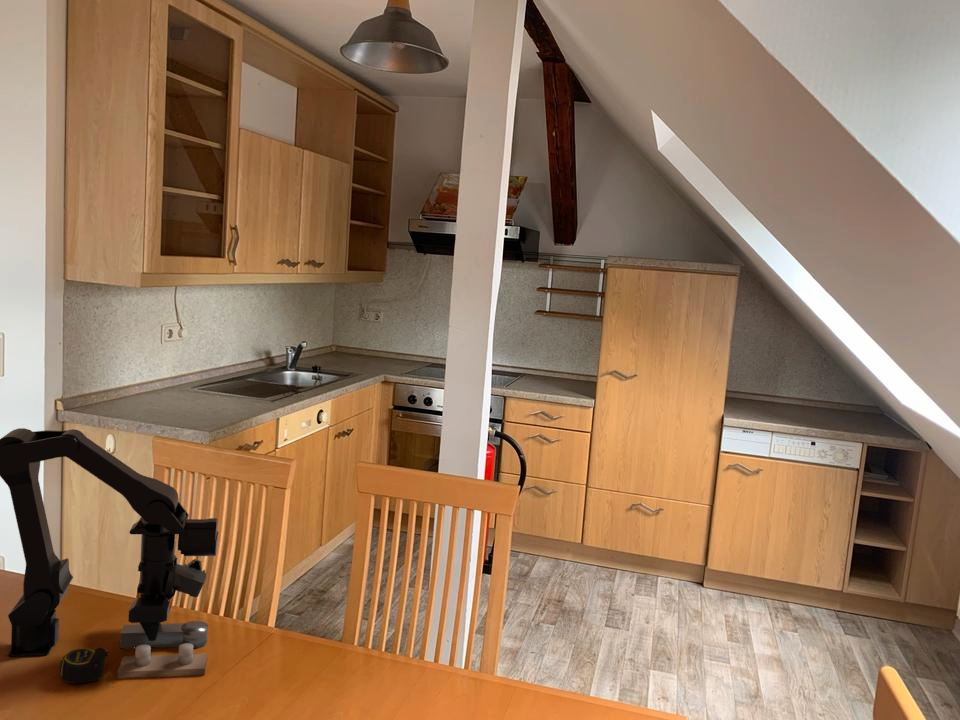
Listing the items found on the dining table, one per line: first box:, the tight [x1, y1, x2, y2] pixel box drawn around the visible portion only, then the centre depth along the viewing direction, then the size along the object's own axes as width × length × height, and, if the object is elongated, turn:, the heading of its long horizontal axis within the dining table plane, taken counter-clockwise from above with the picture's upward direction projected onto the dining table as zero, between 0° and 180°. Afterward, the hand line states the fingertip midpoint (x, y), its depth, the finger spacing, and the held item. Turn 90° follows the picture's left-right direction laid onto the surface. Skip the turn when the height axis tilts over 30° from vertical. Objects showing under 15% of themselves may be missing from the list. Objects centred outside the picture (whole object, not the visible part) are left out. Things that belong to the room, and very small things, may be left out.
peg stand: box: [117, 643, 209, 679], centre depth 134 cm, size 14×5×4 cm, turn 105°
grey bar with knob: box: [119, 620, 209, 649], centre depth 142 cm, size 15×5×3 cm, turn 105°
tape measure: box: [59, 647, 109, 684], centre depth 130 cm, size 7×7×4 cm
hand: (154, 635), depth 142 cm, fingers closed on grey bar with knob, 3 cm apart
